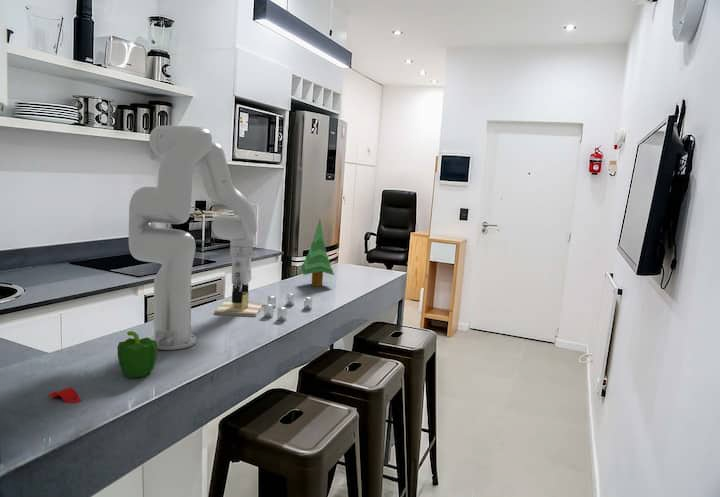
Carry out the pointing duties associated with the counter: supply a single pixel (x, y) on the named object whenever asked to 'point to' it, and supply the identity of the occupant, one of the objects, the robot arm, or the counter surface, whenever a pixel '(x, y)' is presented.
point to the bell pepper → (137, 355)
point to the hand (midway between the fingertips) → (240, 299)
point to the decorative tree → (317, 259)
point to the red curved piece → (66, 395)
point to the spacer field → (283, 310)
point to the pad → (228, 310)
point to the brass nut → (244, 302)
